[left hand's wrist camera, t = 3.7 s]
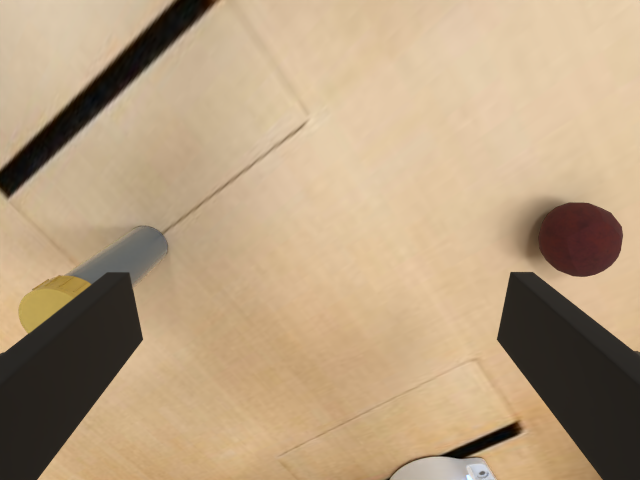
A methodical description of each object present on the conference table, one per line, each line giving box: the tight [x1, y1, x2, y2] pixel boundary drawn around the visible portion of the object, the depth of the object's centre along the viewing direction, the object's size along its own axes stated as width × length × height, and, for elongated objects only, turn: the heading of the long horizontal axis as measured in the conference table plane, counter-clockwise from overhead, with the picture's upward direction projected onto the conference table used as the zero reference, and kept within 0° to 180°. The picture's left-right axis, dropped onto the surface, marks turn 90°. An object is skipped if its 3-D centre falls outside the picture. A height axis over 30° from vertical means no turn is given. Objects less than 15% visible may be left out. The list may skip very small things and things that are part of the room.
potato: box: [539, 203, 623, 277], centre depth 38 cm, size 7×8×7 cm
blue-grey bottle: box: [63, 226, 168, 288], centre depth 35 cm, size 5×5×15 cm
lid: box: [19, 275, 91, 334], centre depth 28 cm, size 5×5×2 cm
